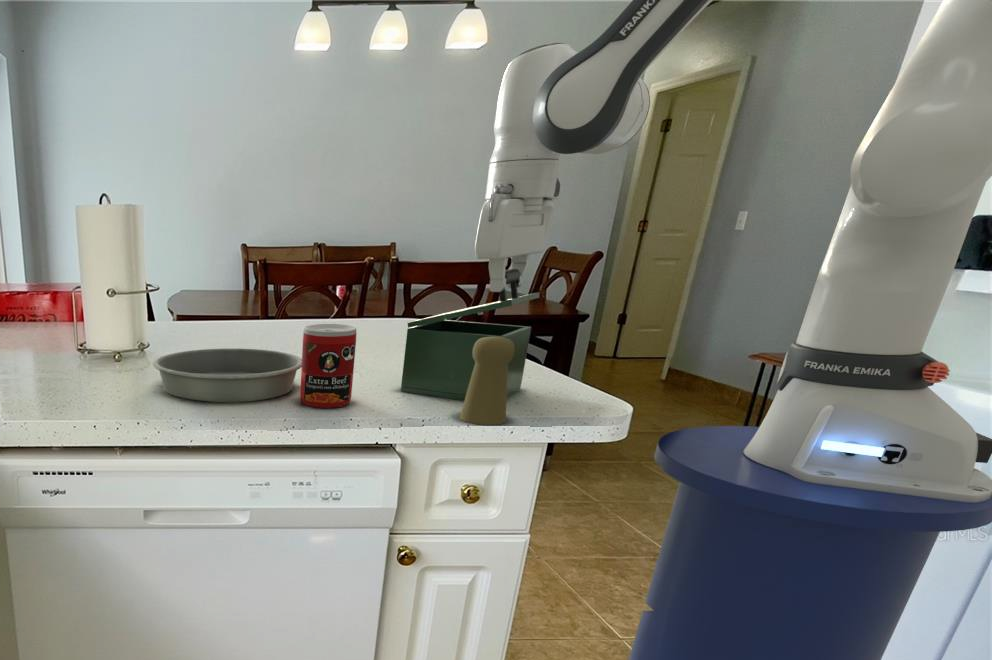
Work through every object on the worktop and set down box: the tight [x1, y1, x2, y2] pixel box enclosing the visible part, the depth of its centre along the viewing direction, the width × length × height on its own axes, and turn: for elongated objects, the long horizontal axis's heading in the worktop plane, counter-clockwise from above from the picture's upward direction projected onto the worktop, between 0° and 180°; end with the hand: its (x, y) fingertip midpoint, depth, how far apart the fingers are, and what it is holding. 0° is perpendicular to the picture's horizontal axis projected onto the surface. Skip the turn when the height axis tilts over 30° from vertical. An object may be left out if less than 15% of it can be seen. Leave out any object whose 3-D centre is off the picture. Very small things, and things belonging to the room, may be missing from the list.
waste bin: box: [400, 319, 532, 401], centre depth 112 cm, size 15×13×10 cm
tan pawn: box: [459, 337, 515, 426], centre depth 96 cm, size 6×6×11 cm
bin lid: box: [407, 268, 540, 329], centre depth 108 cm, size 16×13×5 cm
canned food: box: [299, 323, 357, 409], centre depth 106 cm, size 8×8×11 cm
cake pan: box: [152, 347, 302, 403], centre depth 117 cm, size 25×25×4 cm
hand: (505, 289), depth 105 cm, fingers closed on bin lid, 6 cm apart
